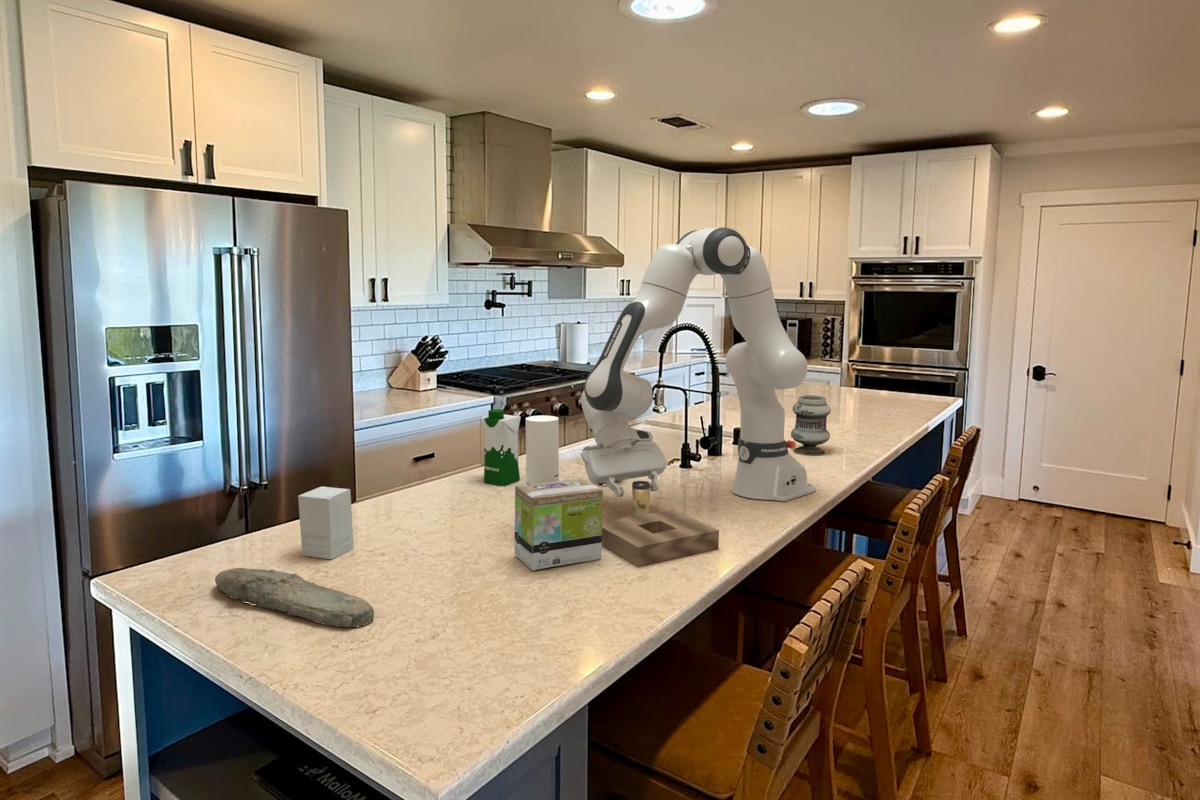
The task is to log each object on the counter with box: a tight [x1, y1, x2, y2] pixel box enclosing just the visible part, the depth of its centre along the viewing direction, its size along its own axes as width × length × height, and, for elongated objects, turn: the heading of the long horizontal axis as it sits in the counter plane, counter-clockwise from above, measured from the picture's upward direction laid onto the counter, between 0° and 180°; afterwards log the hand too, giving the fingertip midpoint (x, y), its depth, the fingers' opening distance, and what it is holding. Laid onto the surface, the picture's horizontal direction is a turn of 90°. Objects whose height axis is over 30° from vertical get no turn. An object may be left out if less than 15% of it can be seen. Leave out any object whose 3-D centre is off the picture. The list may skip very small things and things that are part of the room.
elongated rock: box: [214, 567, 375, 628], centre depth 129 cm, size 35×5×10 cm
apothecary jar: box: [790, 394, 832, 457], centre depth 242 cm, size 12×12×18 cm
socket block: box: [602, 509, 720, 567], centre depth 158 cm, size 20×16×4 cm
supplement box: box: [297, 486, 355, 560], centre depth 153 cm, size 7×7×13 cm
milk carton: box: [480, 408, 521, 487], centre depth 205 cm, size 9×9×20 cm
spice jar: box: [631, 480, 651, 517], centre depth 173 cm, size 4×4×9 cm
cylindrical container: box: [525, 415, 560, 485], centre depth 166 cm, size 7×7×25 cm
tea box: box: [514, 477, 604, 572], centre depth 150 cm, size 15×10×15 cm, turn 117°
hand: (638, 492), depth 174 cm, fingers open, 8 cm apart
